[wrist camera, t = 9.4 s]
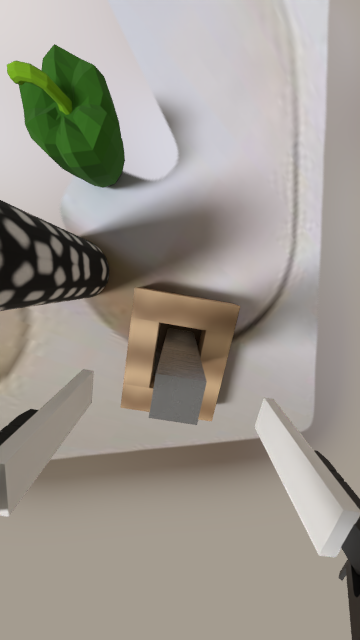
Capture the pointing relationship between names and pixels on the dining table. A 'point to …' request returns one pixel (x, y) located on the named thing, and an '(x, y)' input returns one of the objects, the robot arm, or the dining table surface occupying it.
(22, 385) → the dining table surface
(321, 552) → the robot arm
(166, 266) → the dining table surface
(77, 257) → the white-spotted black cylinder
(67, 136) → the bell pepper
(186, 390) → the bracket
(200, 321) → the wooden rectangular frame
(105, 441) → the dining table surface
